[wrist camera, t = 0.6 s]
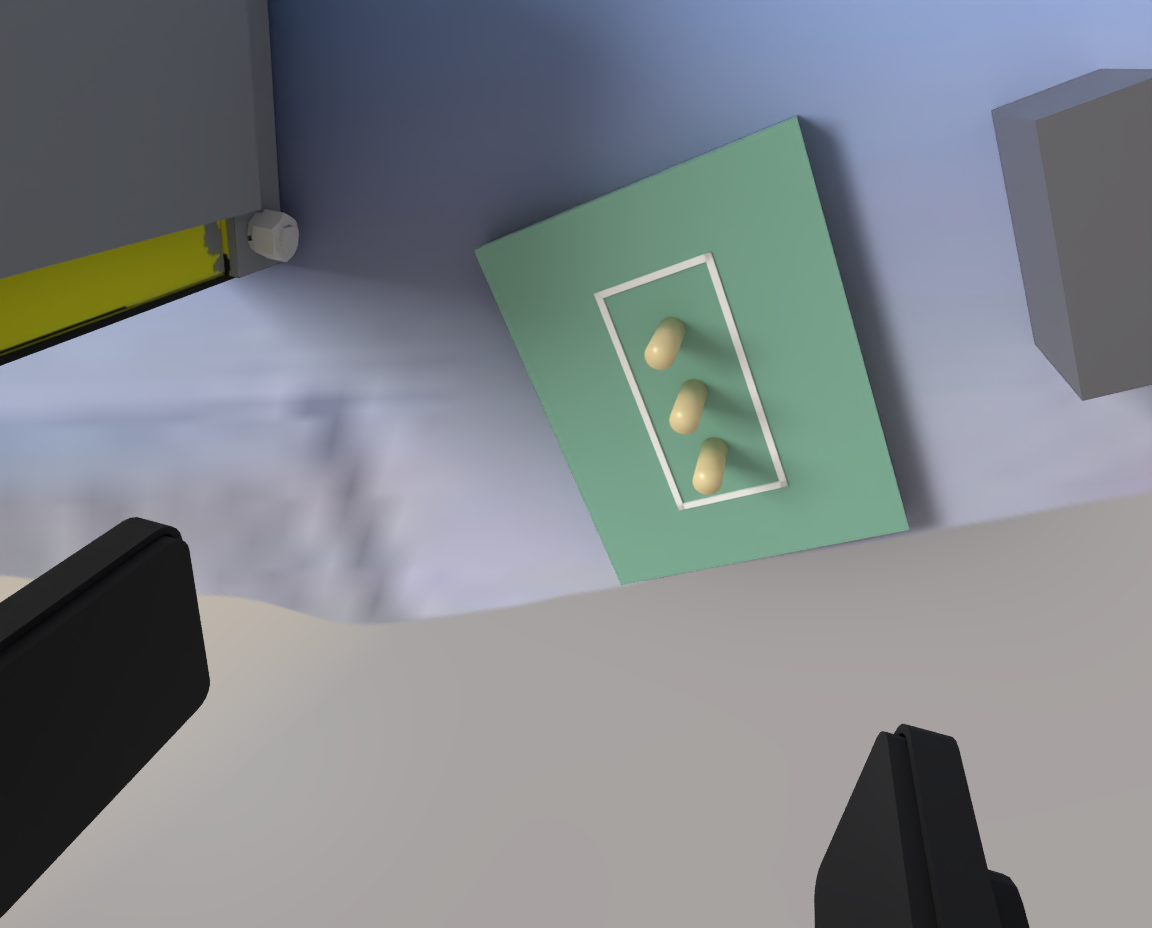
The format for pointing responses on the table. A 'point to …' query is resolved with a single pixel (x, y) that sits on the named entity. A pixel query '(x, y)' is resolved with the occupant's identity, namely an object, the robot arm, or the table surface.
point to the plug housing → (1085, 224)
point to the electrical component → (131, 160)
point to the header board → (702, 362)
